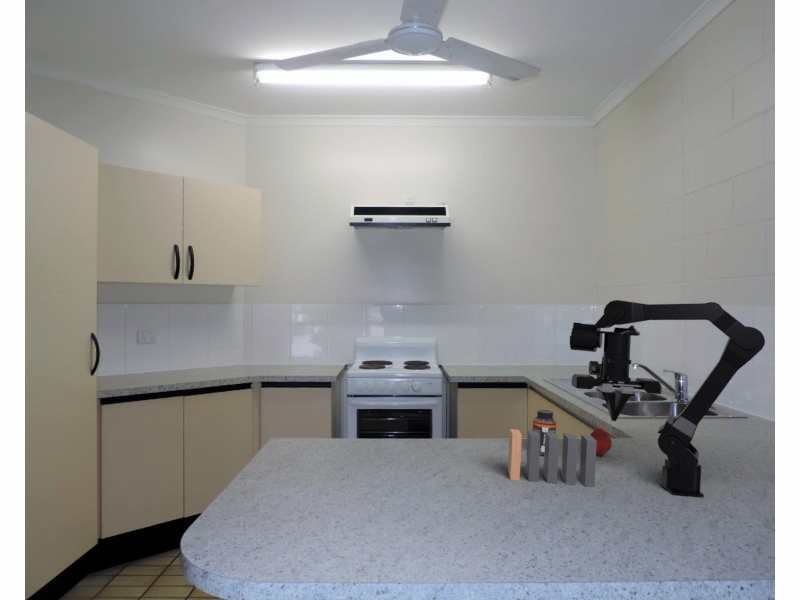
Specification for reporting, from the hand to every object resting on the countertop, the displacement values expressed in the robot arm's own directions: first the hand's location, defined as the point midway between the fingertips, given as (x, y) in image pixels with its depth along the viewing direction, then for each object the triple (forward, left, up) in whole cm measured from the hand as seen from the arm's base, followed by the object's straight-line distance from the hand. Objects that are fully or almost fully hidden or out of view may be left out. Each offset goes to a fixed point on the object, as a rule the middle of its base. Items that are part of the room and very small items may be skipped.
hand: (613, 420), depth 116 cm
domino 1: (+23, +6, -13) cm, 27 cm away
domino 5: (+7, +6, -13) cm, 16 cm away
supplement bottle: (+13, -15, -13) cm, 24 cm away
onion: (-2, -17, -13) cm, 22 cm away
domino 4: (+11, +6, -13) cm, 18 cm away
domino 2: (+19, +6, -13) cm, 24 cm away
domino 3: (+15, +6, -13) cm, 21 cm away
